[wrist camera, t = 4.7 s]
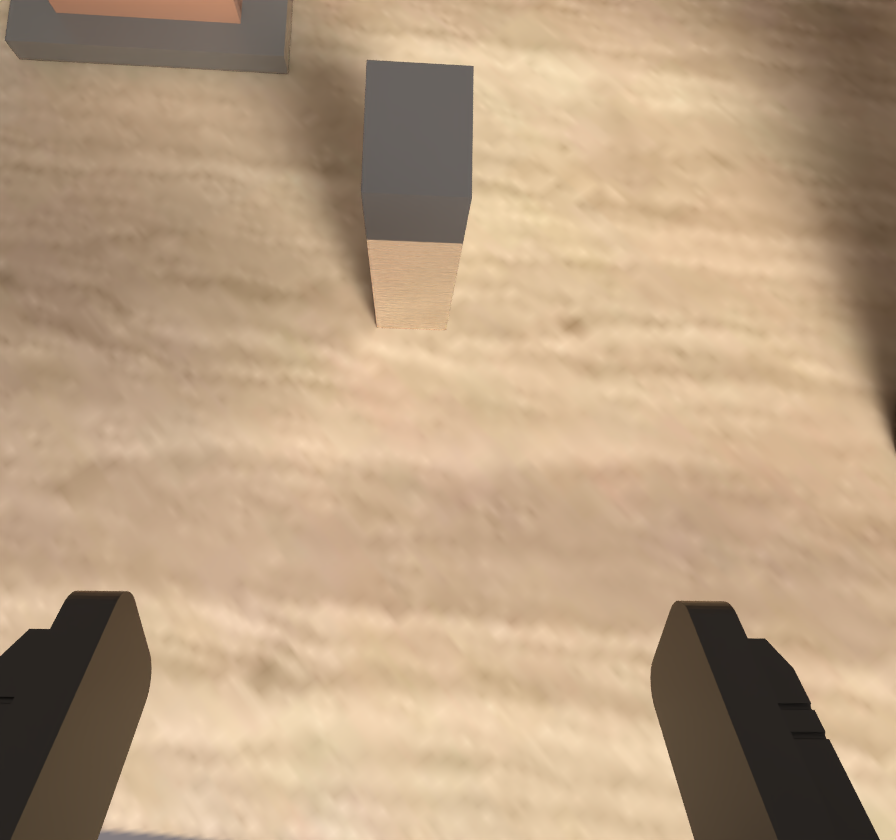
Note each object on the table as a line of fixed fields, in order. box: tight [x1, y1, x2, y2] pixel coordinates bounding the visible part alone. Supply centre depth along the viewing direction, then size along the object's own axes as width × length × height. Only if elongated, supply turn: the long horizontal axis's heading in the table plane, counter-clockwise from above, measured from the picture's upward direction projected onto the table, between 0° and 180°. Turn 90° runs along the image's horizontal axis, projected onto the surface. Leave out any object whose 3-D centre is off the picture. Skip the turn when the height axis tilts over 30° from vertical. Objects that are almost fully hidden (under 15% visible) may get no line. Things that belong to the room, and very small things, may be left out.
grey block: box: [361, 60, 473, 330], centre depth 26 cm, size 3×4×12 cm
